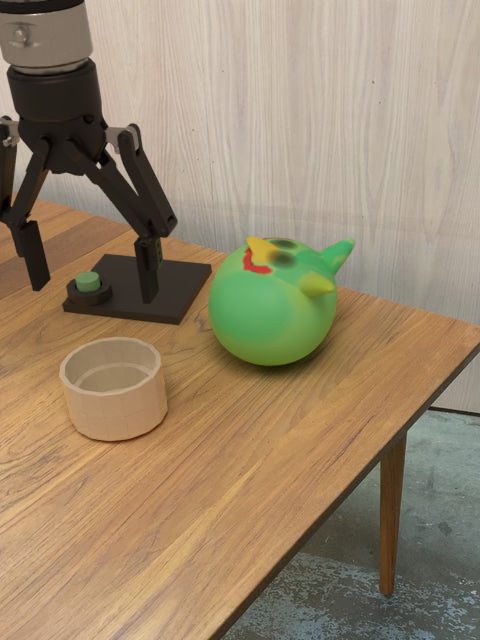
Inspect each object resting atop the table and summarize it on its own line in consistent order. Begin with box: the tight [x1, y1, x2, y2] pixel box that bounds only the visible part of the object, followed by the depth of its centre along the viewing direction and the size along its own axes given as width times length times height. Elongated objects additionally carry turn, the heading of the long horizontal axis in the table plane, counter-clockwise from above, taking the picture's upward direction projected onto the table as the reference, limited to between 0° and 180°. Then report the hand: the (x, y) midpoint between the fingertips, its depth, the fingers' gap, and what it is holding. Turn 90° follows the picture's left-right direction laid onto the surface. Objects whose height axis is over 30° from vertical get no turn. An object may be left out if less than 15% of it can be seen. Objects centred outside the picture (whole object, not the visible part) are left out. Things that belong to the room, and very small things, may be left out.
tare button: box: [75, 271, 100, 292], centre depth 108 cm, size 3×3×2 cm
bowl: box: [59, 336, 169, 442], centre depth 89 cm, size 11×11×7 cm
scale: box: [61, 253, 213, 326], centre depth 111 cm, size 17×15×3 cm
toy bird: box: [207, 235, 356, 367], centre depth 96 cm, size 18×17×15 cm
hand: (95, 291), depth 81 cm, fingers open, 11 cm apart
